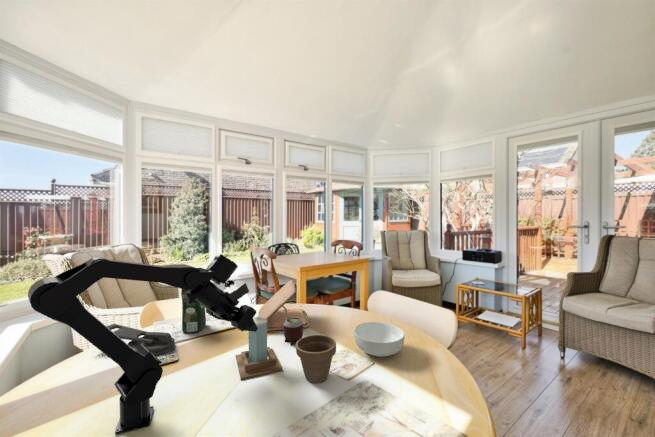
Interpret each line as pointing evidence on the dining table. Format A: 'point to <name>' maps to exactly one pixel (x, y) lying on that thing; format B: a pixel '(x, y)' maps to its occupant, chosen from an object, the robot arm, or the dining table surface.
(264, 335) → the pale blue rectangular block
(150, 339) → the zipper pull
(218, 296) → the robot arm
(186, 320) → the coffee jar
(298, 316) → the case
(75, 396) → the dining table surface
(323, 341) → the flower pot
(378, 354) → the cereal bowl
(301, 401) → the dining table surface
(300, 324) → the mate gourd
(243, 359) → the picture frame
